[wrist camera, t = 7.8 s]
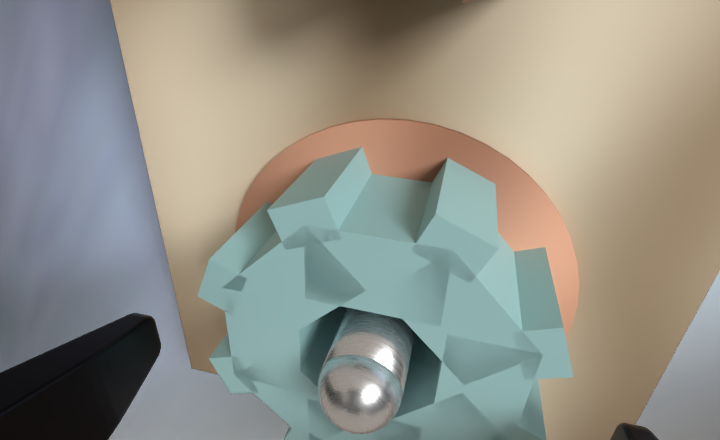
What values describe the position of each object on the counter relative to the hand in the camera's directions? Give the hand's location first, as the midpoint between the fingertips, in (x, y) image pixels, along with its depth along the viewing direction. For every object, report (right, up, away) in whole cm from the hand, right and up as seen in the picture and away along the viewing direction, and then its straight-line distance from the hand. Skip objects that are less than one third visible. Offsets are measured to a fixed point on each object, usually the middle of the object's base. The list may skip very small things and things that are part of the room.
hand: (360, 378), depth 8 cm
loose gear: (+1, +1, +2) cm, 3 cm away
